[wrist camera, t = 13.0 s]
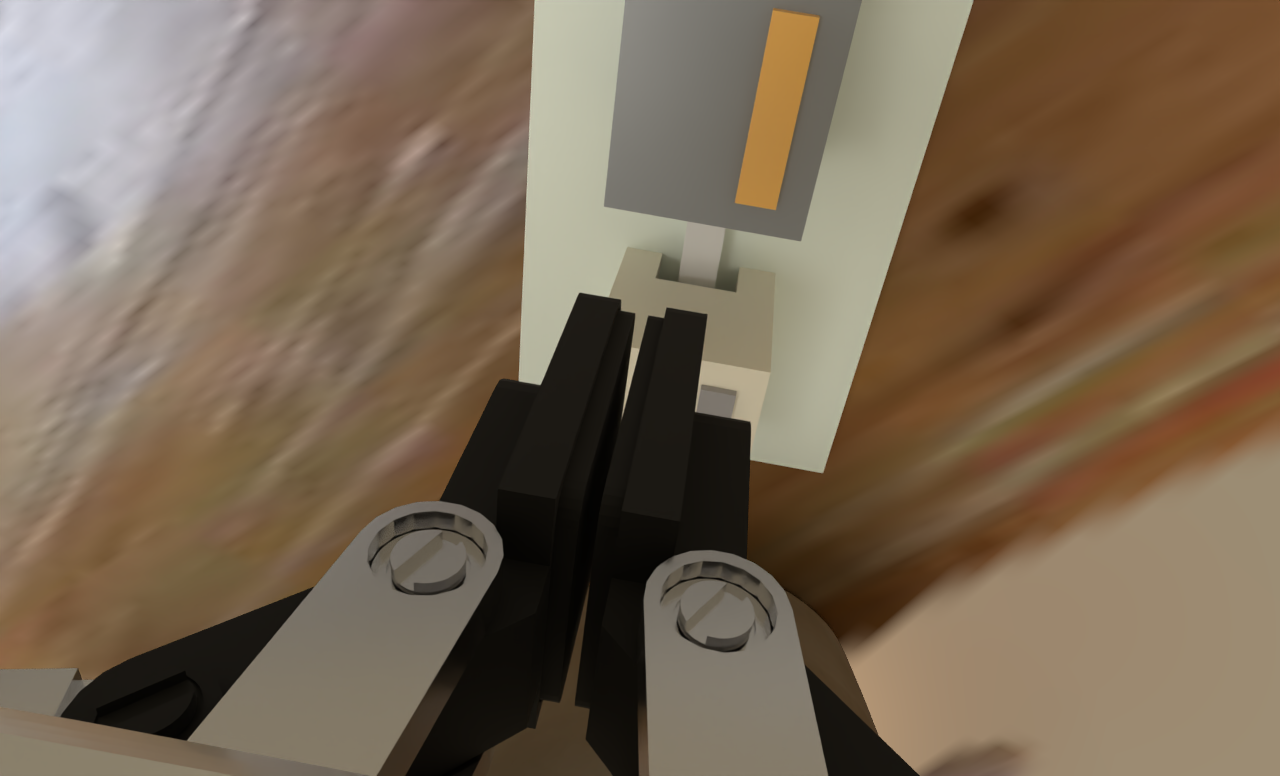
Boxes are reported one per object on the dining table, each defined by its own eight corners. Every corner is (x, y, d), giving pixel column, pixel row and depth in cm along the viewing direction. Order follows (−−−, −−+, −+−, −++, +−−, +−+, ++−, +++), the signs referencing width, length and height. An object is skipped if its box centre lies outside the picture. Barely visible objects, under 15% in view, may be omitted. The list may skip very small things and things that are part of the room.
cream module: (742, 415, 32) (731, 533, 27) (610, 391, 32) (575, 503, 27) (775, 272, 29) (770, 377, 24) (627, 247, 29) (590, 345, 24)
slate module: (800, 157, 26) (801, 245, 21) (639, 129, 27) (601, 210, 22) (852, -61, 23) (867, -18, 18) (666, -91, 23) (628, -55, 18)
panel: (822, 453, 34) (823, 494, 32) (525, 398, 35) (508, 434, 33) (1005, -133, 23) (1025, -125, 21) (553, -200, 23) (531, -198, 21)
